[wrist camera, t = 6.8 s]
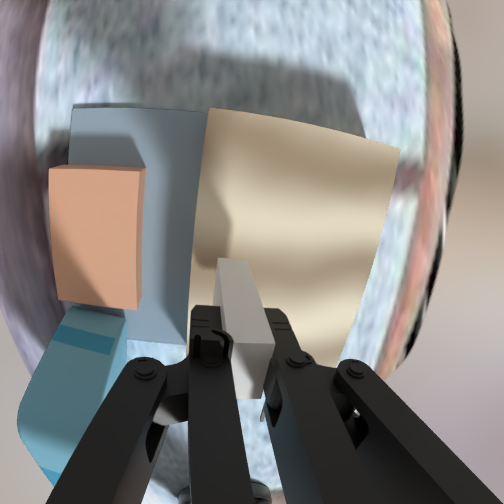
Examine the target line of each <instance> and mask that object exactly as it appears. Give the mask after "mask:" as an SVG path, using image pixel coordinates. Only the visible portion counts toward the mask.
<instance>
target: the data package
mask: <svg viewBox="0 0 504 504" xmlns="http://www.w3.org/2000/svg"><path fill="white" fill-rule="evenodd" d="M126 349H127V321H126V319H125V318H122V317H117V316H113V315H108V314H104V313H100V312H96V311H92V310H87V309H83V308H80V307H76V306H72V307H70V308H69V309H68V311H67V312H66V314H65V316H64V318H63V319H62V321H61V323H60V325H59V326H58V328H57V330H56V332H55V334H54V335H53V337H52V339H51V341H50V343H49V345H48V346H47V348H46V350H45V352H44V354H43V356H42V358H41V360H40V362H39V364H38V366H37V368H36V370H35V372H34V374H33V376H32V378H31V381H30V383H29V385H28V387H27V389H26V391H25V394H24V396H23V398H22V401H21V403H20V406H19V410H18V418H17V426H18V432H19V435H20V438H21V440H22V441H23V443H24V444H25V446H26V447H27V449H28V451H29V452H30V454H31V455H32V457H33V458H34V460H35V461H36V463H37V464H38V466H39V467H40V468H41V470H42V471H43V472H44V474H45V475H46V476H47V478H48V479H49V481H50V482H51V483H52V484H53V486H54V487H55V485H56V483H57V481H58V479H59V477H60V475H61V474H62V472H63V470H64V468H65V466H66V464H67V463H68V461H69V459H70V457H71V455H72V454H73V452H74V450H75V448H76V447H77V445H78V443H79V441H80V440H81V438H82V436H83V434H84V433H85V431H86V429H87V427H88V426H89V424H90V422H91V421H92V419H93V417H94V416H95V414H96V412H97V410H98V409H99V407H100V405H101V404H102V402H103V400H104V399H105V397H106V396H107V394H108V392H109V391H110V389H111V387H112V386H113V384H114V382H115V381H116V379H117V378H118V376H119V374H120V373H121V371H122V370H123V368H124V366H125V365H126Z"/></svg>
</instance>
